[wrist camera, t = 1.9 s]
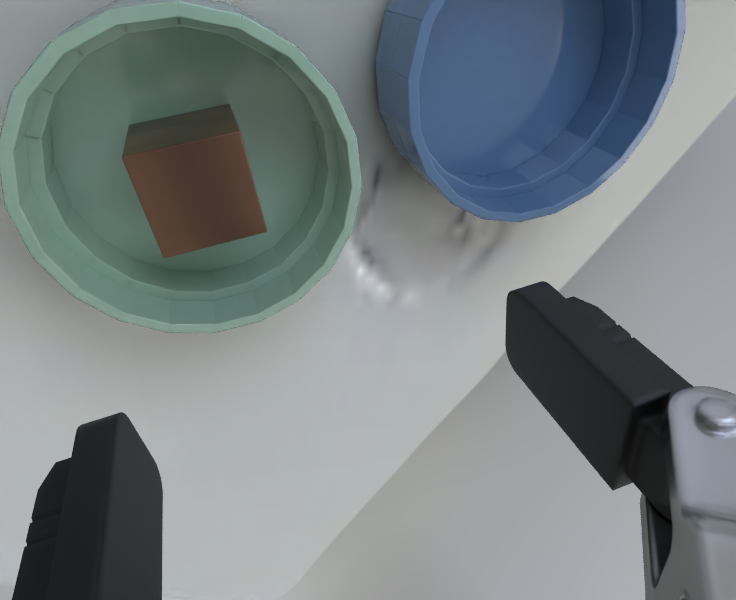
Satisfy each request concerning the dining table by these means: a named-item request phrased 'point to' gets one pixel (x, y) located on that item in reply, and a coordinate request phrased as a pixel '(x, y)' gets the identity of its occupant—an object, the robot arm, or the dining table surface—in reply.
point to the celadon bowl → (163, 99)
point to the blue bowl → (523, 94)
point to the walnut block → (193, 180)
